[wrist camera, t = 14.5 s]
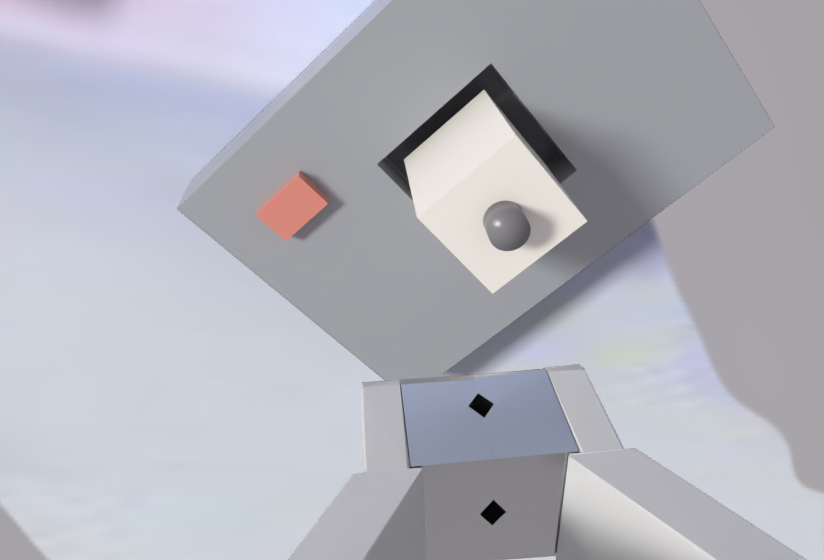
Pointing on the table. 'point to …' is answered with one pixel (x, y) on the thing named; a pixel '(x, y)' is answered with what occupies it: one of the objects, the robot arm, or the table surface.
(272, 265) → the socket plate
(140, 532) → the table surface
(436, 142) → the plug
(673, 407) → the table surface
